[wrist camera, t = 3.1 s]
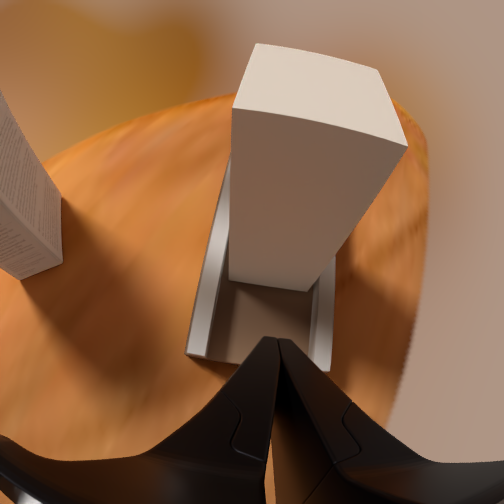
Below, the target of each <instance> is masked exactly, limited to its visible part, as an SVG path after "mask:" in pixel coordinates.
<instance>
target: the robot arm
mask: <svg viewBox="0 0 504 504" xmlns="http://www.w3.org/2000/svg"><path fill="white" fill-rule="evenodd" d="M270 439H271V444H272V457H273V470H274V483H275V496H276V504H504V461H493V462H476V463H440V462H434V461H431V460H428V459H426V458H423V457H422V456H420V455H418V454H417V453H415V452H414V451H413V450H411V449H410V448H409V447H407V446H406V445H405V444H403V443H402V442H400V441H399V440H398V439H396V438H395V437H394V436H392V435H391V434H390V433H388V432H387V431H386V430H385V429H383V428H382V427H381V426H380V425H378V424H377V423H376V422H375V421H373V420H372V419H371V418H370V417H369V416H368V415H367V414H366V413H365V412H363V411H362V410H361V409H360V408H359V407H358V406H357V405H356V404H355V403H354V402H352V400H351V399H350V398H349V397H348V396H347V395H346V394H345V393H344V392H343V391H342V390H341V389H340V388H339V387H338V386H337V385H336V384H335V383H334V382H333V381H332V380H331V379H330V378H329V377H328V376H327V375H326V374H325V373H324V372H323V371H322V370H321V369H320V368H319V367H318V366H317V365H316V364H315V363H314V362H313V361H312V360H311V359H310V358H309V357H308V356H307V355H306V354H305V353H304V352H303V351H302V350H301V349H300V348H299V347H298V346H297V345H296V344H295V343H294V342H293V341H292V340H291V339H286V338H278V339H277V338H276V337H270V336H263V337H262V338H261V340H260V341H259V342H258V343H257V345H256V346H255V347H254V349H253V350H252V351H251V352H250V354H249V355H248V356H247V357H246V359H245V360H244V361H243V362H242V363H241V365H240V366H239V367H238V368H237V370H236V371H235V372H234V373H233V374H232V376H231V377H230V378H229V379H228V381H227V382H226V383H225V384H224V385H223V387H222V388H221V389H220V390H219V391H218V392H217V393H216V395H215V396H214V397H213V398H212V399H211V400H210V401H209V402H208V403H207V404H206V406H205V407H204V408H203V409H202V410H201V411H199V412H198V413H197V414H196V415H195V416H194V417H192V418H191V419H190V420H189V421H188V422H186V423H185V424H184V425H183V426H181V427H180V428H179V429H177V430H176V431H175V432H173V433H172V434H171V435H170V436H168V437H167V438H166V439H164V440H163V441H162V442H160V443H159V444H157V445H156V446H155V447H153V448H152V449H150V450H148V451H146V452H144V453H142V454H139V455H136V456H131V457H123V458H113V459H102V460H85V461H60V460H53V459H48V458H44V457H42V456H39V455H36V454H34V453H32V452H30V451H28V450H26V449H25V448H23V447H22V446H20V445H18V444H17V443H15V442H14V441H12V440H11V439H9V438H8V437H5V436H3V435H0V490H1V491H2V492H3V493H4V494H5V495H6V496H7V497H8V498H9V499H10V500H12V501H13V502H14V503H15V504H266V497H265V486H264V481H265V471H266V464H267V459H268V452H269V446H270Z"/></svg>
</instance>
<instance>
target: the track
mask: <svg viewBox="0 0 504 504" xmlns="http://www.w3.org/2000/svg"><path fill="white" fill-rule="evenodd" d="M230 159H231V152H230V156H229V160H228V163H227V167H226V171H225V175H224V178H223V182H222V186H221V190H220V194H219V198H218V202H217V206H216V210H215V214H214V218H213V222H212V226H211V230H210V235H209V239H208V243H207V247H206V252H205V256H204V261H203V265H202V269H201V274H200V279H199V283H198V288H197V292H196V297H195V302H194V307H193V312H192V317H191V322H190V327H189V332H188V337H187V342H186V347H185V353H184V354H185V355H186V356H189V357H194V358H199V359H205V360H210V361H216V362H222V363H228V364H234V365H241V363H242V362H243V361H244V360H245V359H246V357H247V356H248V355H249V354H250V352H251V351H252V350H253V349H254V347H255V346H256V345H257V343H258V342H259V341H260V340H261V338H262V337H263V336H270V337H276V338H277V339H278V338H286V339H291V340H292V341H293V342H294V343H295V344H296V345H297V346H298V347H299V348H300V349H301V350H302V351H303V352H304V353H305V354H306V355H307V356H308V357H309V358H310V359H311V360H312V361H313V362H314V363H315V364H316V365H317V366H318V367H319V368H320V369H321V370H322V371H323V372H324V373H328V372H329V371H330V365H331V353H332V340H333V324H334V303H335V263H336V254H335V256H334V257H333V258H332V260H331V261H330V263H329V264H328V265H327V267H326V268H325V269H324V271H323V272H322V273H321V274H320V276H319V277H318V278H317V280H316V281H315V282H314V284H313V285H312V286H311V288H310V289H309V290H308V291H307V292H304V291H297V290H290V289H283V288H276V287H269V286H263V285H256V284H250V283H243V282H237V281H231V280H229V202H230Z"/></svg>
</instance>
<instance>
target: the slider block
mask: <svg viewBox="0 0 504 504" xmlns="http://www.w3.org/2000/svg"><path fill="white" fill-rule="evenodd" d="M407 148H408V144H407V141H406V138H405V136H404V133H403V130H402V127H401V124H400V122H399V119H398V117H397V114H396V111H395V109H394V106H393V104H392V102H391V99H390V97H389V94H388V92H387V90H386V88H385V85H384V83H383V81H382V79H381V77H380V74H379V72H378V70H376V69H373V68H370V67H367V66H363V65H360V64H357V63H353V62H350V61H346V60H342V59H339V58H334V57H331V56H326V55H322V54H318V53H313V52H308V51H303V50H298V49H292V48H286V47H280V46H274V45H266V44H258V43H256V45H255V47H254V50H253V53H252V55H251V58H250V60H249V63H248V65H247V68H246V71H245V74H244V76H243V79H242V82H241V84H240V87H239V90H238V93H237V96H236V98H235V101H234V104H233V107H232V128H231V159H230V202H229V280H231V281H237V282H243V283H250V284H256V285H263V286H269V287H276V288H283V289H290V290H297V291H304V292H307V291H308V290H309V289H310V288H311V286H312V285H313V284H314V282H315V281H316V280H317V278H318V277H319V276H320V274H321V273H322V272H323V271H324V269H325V268H326V267H327V265H328V264H329V263H330V261H331V260H332V258H333V257H334V256H335V254H336V253H337V252H338V250H339V249H340V248H341V246H342V245H343V243H344V242H345V241H346V239H347V238H348V236H349V235H350V234H351V232H352V231H353V229H354V228H355V227H356V225H357V224H358V222H359V221H360V219H361V218H362V217H363V215H364V214H365V212H366V211H367V209H368V208H369V206H370V205H371V203H372V202H373V200H374V199H375V198H376V196H377V195H378V193H379V192H380V190H381V189H382V187H383V185H384V184H385V182H386V181H387V179H388V178H389V176H390V175H391V173H392V172H393V170H394V168H395V167H396V165H397V164H398V162H399V161H400V159H401V157H402V156H403V154H404V153H405V151H406V149H407Z"/></svg>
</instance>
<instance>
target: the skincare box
mask: <svg viewBox="0 0 504 504" xmlns="http://www.w3.org/2000/svg"><path fill="white" fill-rule="evenodd" d="M62 263H63V256H62V239H61V193H60V192H59V190H58V189H57V187H56V186H55V184H54V183H53V181H52V180H51V178H50V177H49V175H48V174H47V172H46V171H45V169H44V167H43V166H42V164H41V163H40V161H39V160H38V158H37V157H36V155H35V153H34V152H33V150H32V148H31V147H30V145H29V143H28V142H27V140H26V139H25V136H24V135H23V133H22V131H21V129H20V127H19V126H18V124H17V122H16V120H15V118H14V116H13V115H12V113H11V111H10V109H9V107H8V105H7V103H6V101H5V99H4V97H3V95H2V92H1V90H0V268H2V269H3V270H5V271H6V272H7V273H9V274H10V275H12V276H13V277H15V278H16V279H18V280H22V279H25V278H27V277H29V276H32V275H34V274H37V273H39V272H42V271H44V270H47V269H49V268H52V267H55V266H57V265H60V264H62Z"/></svg>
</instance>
